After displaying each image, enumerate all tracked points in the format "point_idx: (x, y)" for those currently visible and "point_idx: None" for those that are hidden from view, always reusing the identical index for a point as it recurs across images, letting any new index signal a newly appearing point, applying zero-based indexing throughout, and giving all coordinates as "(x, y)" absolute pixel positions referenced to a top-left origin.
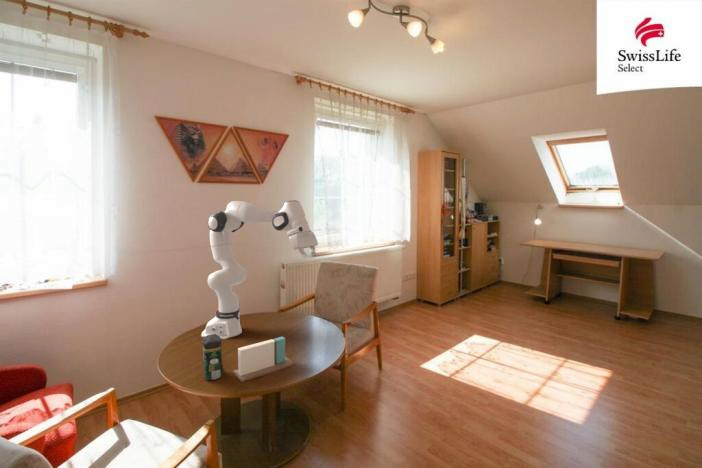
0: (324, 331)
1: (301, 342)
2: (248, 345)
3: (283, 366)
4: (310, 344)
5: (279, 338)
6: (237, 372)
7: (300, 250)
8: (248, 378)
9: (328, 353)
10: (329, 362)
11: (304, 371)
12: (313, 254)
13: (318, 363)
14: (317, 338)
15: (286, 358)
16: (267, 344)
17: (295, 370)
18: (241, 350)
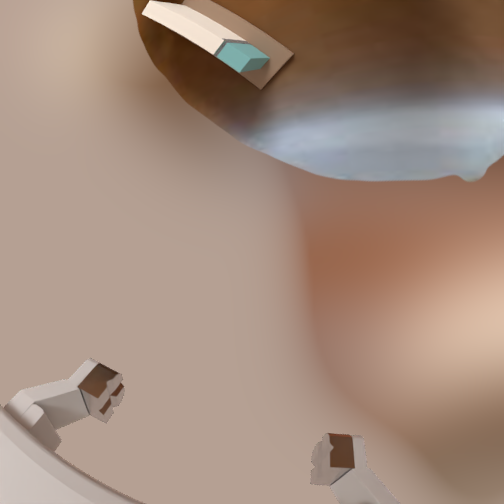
0: (465, 139)
1: (391, 78)
2: (168, 9)
3: (239, 73)
4: (383, 104)
5: (234, 56)
6: (186, 2)
7: (26, 406)
8: (177, 33)
9: (339, 156)
10: (295, 164)
11: (242, 121)
12: (321, 448)
13: (284, 141)
14: (422, 120)
15: (277, 65)
16: (196, 43)
17: (240, 101)
18: (144, 14)
